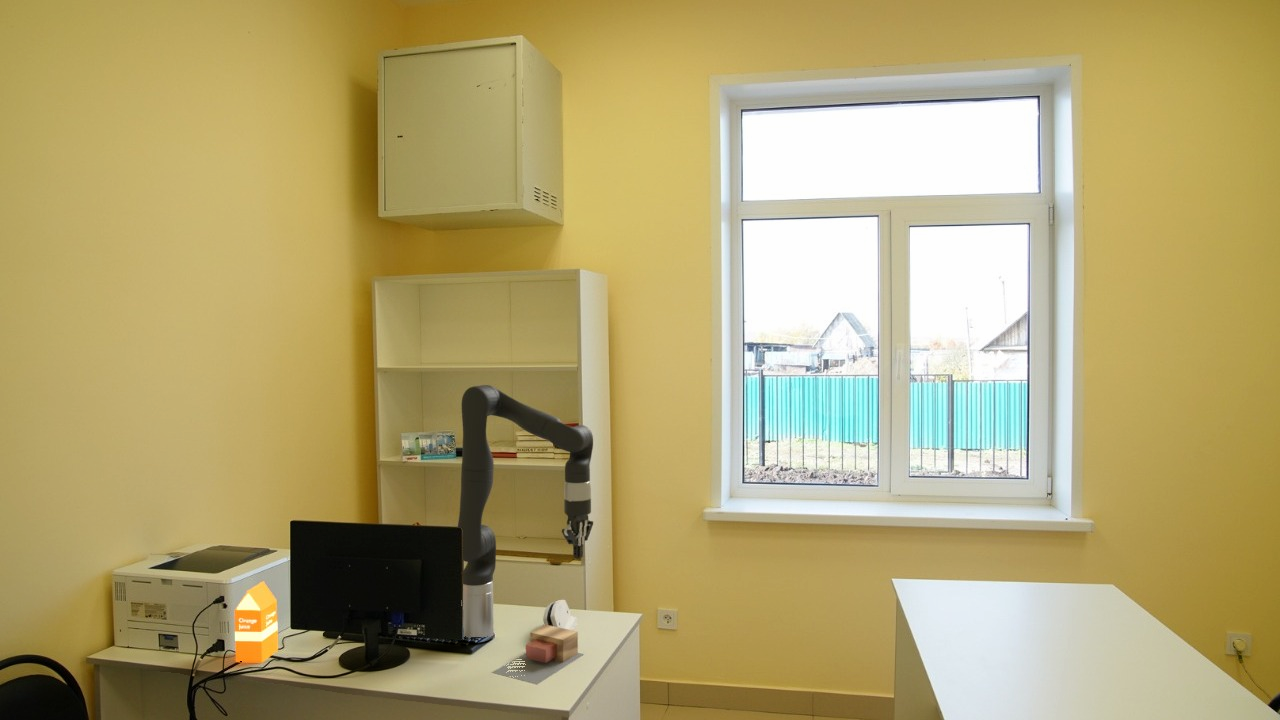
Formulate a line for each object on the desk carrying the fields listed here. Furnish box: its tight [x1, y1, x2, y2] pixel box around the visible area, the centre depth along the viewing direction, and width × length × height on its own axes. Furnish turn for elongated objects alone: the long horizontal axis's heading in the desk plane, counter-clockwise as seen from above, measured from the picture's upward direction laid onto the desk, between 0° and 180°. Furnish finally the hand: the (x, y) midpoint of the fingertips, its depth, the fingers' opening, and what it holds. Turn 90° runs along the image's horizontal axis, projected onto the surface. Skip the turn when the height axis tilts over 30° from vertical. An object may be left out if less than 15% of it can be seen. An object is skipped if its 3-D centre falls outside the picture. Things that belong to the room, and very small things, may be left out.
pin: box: [525, 639, 557, 663], centre depth 228 cm, size 15×7×5 cm, turn 150°
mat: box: [491, 652, 585, 685], centre depth 223 cm, size 15×22×1 cm
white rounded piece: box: [542, 599, 579, 631], centre depth 246 cm, size 17×5×10 cm, turn 172°
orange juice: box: [234, 581, 279, 664], centre depth 229 cm, size 8×9×20 cm
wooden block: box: [529, 624, 579, 663], centre depth 229 cm, size 11×7×6 cm, turn 60°
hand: (578, 557), depth 229 cm, fingers closed
